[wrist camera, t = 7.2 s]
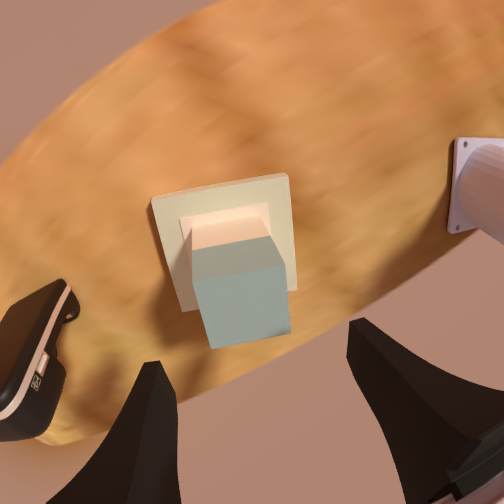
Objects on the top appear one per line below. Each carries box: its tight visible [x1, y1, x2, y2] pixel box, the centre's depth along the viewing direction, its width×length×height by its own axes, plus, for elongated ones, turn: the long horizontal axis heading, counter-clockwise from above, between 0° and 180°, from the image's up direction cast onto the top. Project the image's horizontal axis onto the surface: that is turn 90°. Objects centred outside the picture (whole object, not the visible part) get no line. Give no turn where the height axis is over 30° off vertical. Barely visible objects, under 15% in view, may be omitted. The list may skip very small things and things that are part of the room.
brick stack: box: [192, 215, 291, 349], centre depth 17 cm, size 4×4×6 cm
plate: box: [151, 172, 297, 312], centre depth 20 cm, size 8×8×1 cm
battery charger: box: [0, 279, 80, 442], centre depth 16 cm, size 7×4×11 cm, turn 112°
